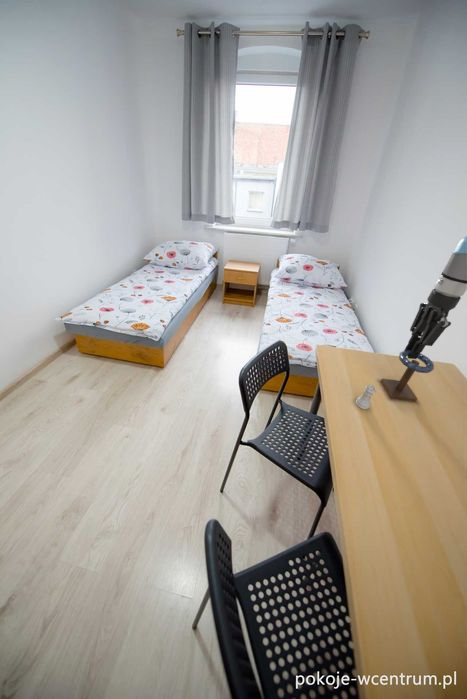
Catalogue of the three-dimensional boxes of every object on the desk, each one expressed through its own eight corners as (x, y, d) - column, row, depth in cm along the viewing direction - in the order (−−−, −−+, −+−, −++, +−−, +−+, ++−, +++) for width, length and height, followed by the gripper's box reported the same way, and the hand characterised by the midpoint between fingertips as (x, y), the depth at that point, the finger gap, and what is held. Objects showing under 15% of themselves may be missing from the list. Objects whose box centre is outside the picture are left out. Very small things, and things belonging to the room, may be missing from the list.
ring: (421, 355, 97) (424, 350, 96) (438, 375, 89) (441, 370, 87) (392, 352, 96) (395, 347, 95) (407, 372, 88) (410, 367, 87)
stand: (403, 384, 104) (422, 355, 96) (415, 401, 96) (436, 372, 88) (380, 381, 103) (396, 352, 96) (390, 398, 96) (408, 369, 88)
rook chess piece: (352, 403, 92) (361, 385, 88) (359, 398, 95) (368, 380, 90) (364, 411, 90) (374, 394, 85) (371, 406, 92) (381, 388, 87)
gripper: (421, 281, 88) (389, 341, 102) (450, 302, 75) (409, 368, 89) (444, 283, 88) (409, 344, 102) (476, 305, 76) (432, 370, 89)
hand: (409, 355), depth 95 cm, fingers closed on ring, 2 cm apart
